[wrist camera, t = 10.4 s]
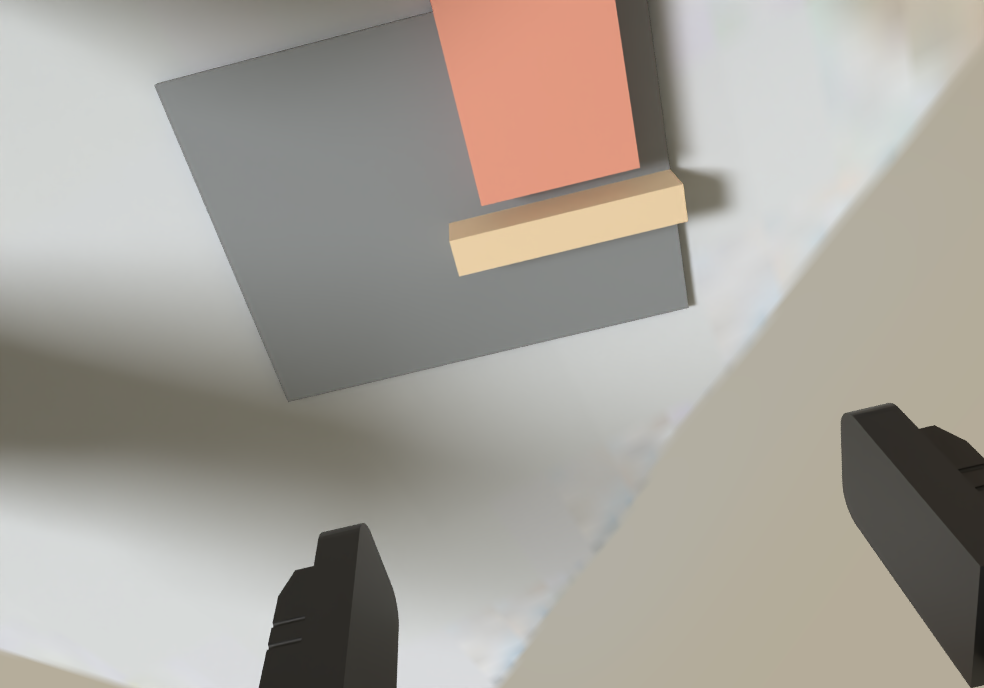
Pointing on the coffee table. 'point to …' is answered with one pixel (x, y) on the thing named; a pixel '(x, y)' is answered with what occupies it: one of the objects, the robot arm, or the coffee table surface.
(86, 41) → the coffee table surface
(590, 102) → the box
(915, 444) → the robot arm
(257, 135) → the mat
